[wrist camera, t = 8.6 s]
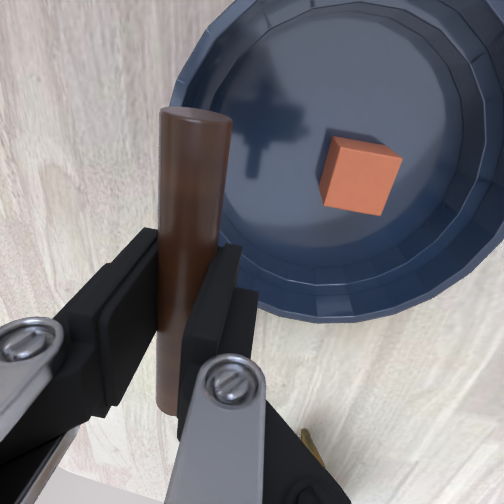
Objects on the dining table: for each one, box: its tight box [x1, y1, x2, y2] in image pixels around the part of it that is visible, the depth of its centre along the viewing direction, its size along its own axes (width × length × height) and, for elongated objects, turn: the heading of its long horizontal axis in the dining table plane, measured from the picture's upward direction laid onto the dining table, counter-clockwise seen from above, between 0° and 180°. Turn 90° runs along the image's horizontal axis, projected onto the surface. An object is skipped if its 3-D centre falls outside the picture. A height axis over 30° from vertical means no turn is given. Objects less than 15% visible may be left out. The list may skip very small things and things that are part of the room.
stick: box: [156, 107, 233, 416], centre depth 9 cm, size 10×2×2 cm, turn 171°
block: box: [319, 136, 403, 216], centre depth 20 cm, size 4×4×4 cm
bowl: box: [169, 0, 504, 323], centre depth 19 cm, size 19×19×6 cm
